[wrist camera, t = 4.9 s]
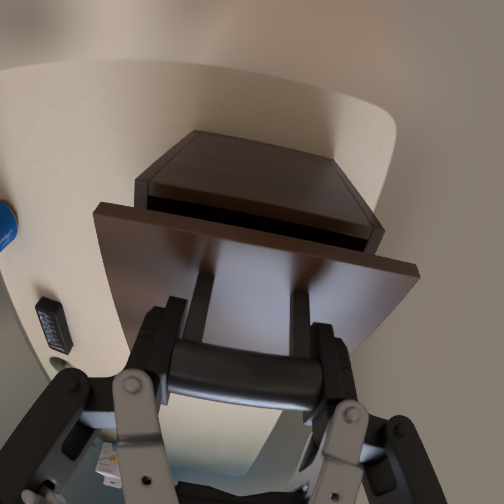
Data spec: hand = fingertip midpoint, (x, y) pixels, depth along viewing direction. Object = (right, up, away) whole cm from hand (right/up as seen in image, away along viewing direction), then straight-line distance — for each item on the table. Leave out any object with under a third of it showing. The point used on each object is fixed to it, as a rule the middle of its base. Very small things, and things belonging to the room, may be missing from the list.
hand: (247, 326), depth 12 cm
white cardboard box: (-43, -59, +63) cm, 96 cm away
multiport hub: (-33, -9, +31) cm, 46 cm away
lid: (-1, -2, +6) cm, 6 cm away
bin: (0, +6, +19) cm, 20 cm away
